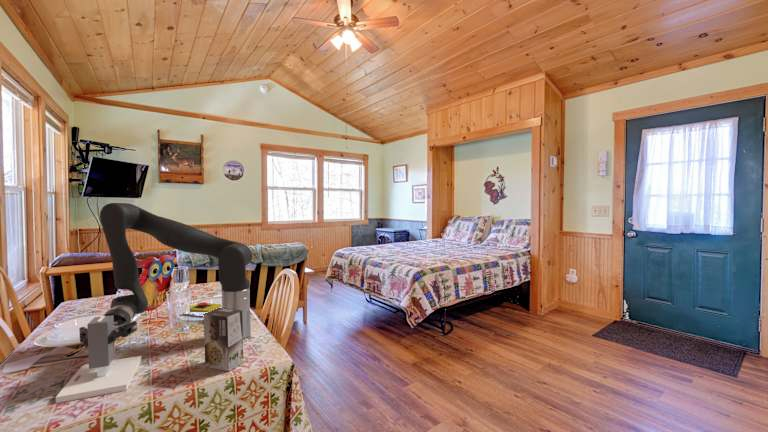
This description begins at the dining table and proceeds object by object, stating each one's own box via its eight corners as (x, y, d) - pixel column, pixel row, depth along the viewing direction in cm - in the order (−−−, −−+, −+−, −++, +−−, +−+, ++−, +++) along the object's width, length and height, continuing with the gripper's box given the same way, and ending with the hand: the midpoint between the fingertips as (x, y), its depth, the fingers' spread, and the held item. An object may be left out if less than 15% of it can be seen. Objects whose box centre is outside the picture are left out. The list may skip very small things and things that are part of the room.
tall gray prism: (108, 365, 93) (107, 320, 92) (88, 368, 91) (87, 323, 91) (114, 357, 98) (113, 314, 97) (95, 359, 96) (94, 316, 96)
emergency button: (198, 299, 157) (226, 302, 153) (198, 308, 157) (227, 311, 153) (181, 305, 148) (211, 308, 144) (181, 315, 148) (211, 318, 144)
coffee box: (244, 362, 105) (243, 310, 105) (228, 372, 99) (227, 316, 99) (220, 357, 108) (219, 306, 108) (203, 367, 102) (202, 313, 101)
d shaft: (101, 372, 96) (100, 340, 95) (109, 370, 97) (108, 339, 96) (97, 377, 93) (96, 344, 93) (105, 376, 94) (104, 343, 93)
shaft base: (83, 369, 100) (82, 364, 100) (141, 360, 106) (141, 355, 106) (55, 403, 84) (55, 396, 84) (126, 390, 90) (126, 384, 90)
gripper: (86, 311, 104) (62, 331, 89) (143, 305, 110) (130, 324, 95) (87, 335, 105) (63, 360, 89) (144, 328, 111) (131, 350, 95)
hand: (98, 341), depth 92 cm, fingers closed on tall gray prism, 4 cm apart
